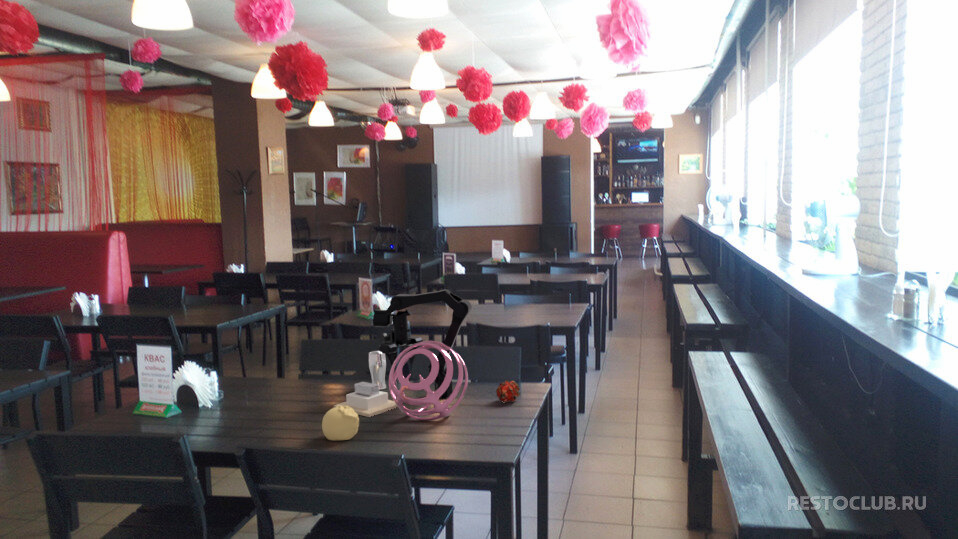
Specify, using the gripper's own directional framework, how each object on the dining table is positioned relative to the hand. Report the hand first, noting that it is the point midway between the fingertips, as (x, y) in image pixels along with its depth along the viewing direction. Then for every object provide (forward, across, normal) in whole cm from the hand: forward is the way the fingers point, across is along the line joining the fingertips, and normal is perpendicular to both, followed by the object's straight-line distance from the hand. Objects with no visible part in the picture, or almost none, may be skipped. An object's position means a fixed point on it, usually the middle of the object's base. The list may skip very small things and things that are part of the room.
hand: (402, 366), depth 273 cm
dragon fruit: (+12, -15, +40) cm, 44 cm away
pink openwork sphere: (+12, +15, +27) cm, 33 cm away
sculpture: (+12, +46, +18) cm, 51 cm away
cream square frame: (+12, +18, -1) cm, 22 cm away
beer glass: (+12, -3, -18) cm, 22 cm away
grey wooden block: (+11, +18, -1) cm, 21 cm away
